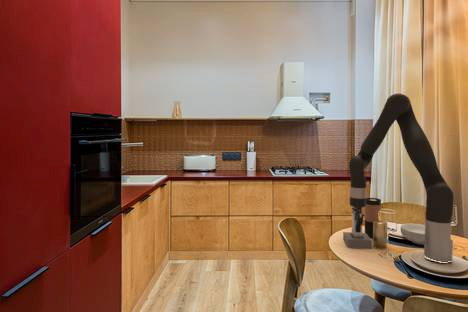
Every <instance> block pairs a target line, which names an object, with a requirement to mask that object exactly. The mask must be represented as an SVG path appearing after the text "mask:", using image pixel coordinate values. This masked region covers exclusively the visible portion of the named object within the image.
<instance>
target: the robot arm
mask: <svg viewBox="0 0 468 312" xmlns="http://www.w3.org/2000/svg"><path fill="white" fill-rule="evenodd" d="M395 121H396V122H397V124H398V127H399V131H400V135H401V140H402V142H403V146H404V149H405V151H406V153H407V155H408V158H409V159H410V161H411V163H412V164H413V166H414V167H415V169H416V171H417V172H418V174H419V176H420V178H421V180H422V183H423V187H424V190H425V195H426V205H425V208H426V209H425V216H424V217H425V220H424V221H425V222H424V225H425V243H424V245H423V247H424V249H423V256H424V255H425V256H426V257H428V258H430V259H433V260H436V261H441V262H448V261H452V262H453V251H454V250H453V249H454V247H453V246H454V245H453V244H454V240H452V237H451V236H452V220H453V219H452V218H453V215H454V214H453V213H454V212H453V211H454V192H453V189H451V188H450V186H449V185H448V184H447V182H446V180H445V178H444V177H443V175H442V174H441V172H440V169H439V166H438V163H437V159H436V157H435V152H434V150H433V148H432V145H431V143H430V141H429V139H428V138H427V135H426V134H425V132H424V130H423V129H422V128H423V127H421V125H420V124H419V122H418V120H417V117H416V115H415V112H414V110H413V106H412V103H411V100H410V98H409V97H408V96H407V95H406V94H404V93H394V94H391V95H390V96H388V98H386V102H385V103H384V107H383V108H382V111H381V113H380V115H379V116H378V119H377V120H376V122H375V124H374V125H373V126H372V129H371V130H370V131H369V133H368V134H367V136H366V138H364V141H363V142H362V143H361V145H360V150H359V152H358V153H357V155H355V156H351V158H350V160H349V163H348V170H349V174H350V189H349V206H350V207H351V214H352V213H354V215H355V220H356V232H361V225H362V226H363V223H364V217H365V213H364V211H363V209H362V208H365V206H366V198H367V177H366V175H365V169H366V168H367V167H368V166H369V165H370V164H371V161H372V160H373V157H374V154H375V153H376V152H377V151H378V149H379V148H380V146H381V145H382V143H383V142H384V140H385V138H386V137H387V134H388V133H389V132H388V131H389V130H390V128H391V127H392V125H393V124H394V123H395ZM356 217H357V218H356ZM358 221H360V222H358Z"/></svg>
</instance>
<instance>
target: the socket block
mask: <svg viewBox="0 0 468 312" xmlns="http://www.w3.org/2000/svg"><path fill="white" fill-rule="evenodd" d="M342 234H343V235H342V240H343V242H344V244H345V246H346V248H350V249H353V248H354V249H368V250H370V249H371V250H372V249H373V239H372V238H370V237H369V236H368V235H367V234H366V233H365V232H362V238H352V231H351V232H349V231H343V233H342Z"/></svg>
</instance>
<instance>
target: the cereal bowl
mask: <svg viewBox="0 0 468 312" xmlns="http://www.w3.org/2000/svg"><path fill="white" fill-rule="evenodd" d="M400 233H401V235H402V236H403V237H404V238H405V239H406V240H408V241H410V242H411V241H412V242H411V243H413V244H417V245H423V246H424V243H425V224H420V223H403V224H401V225H400Z"/></svg>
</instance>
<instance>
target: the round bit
mask: <svg viewBox="0 0 468 312" xmlns="http://www.w3.org/2000/svg"><path fill="white" fill-rule="evenodd" d="M387 245H388V222H387V221H384V220H381V221H374V223H373V238H372V248H374V249H377V250H378V249H379V250H386V249H387V248H388V246H387Z"/></svg>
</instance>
